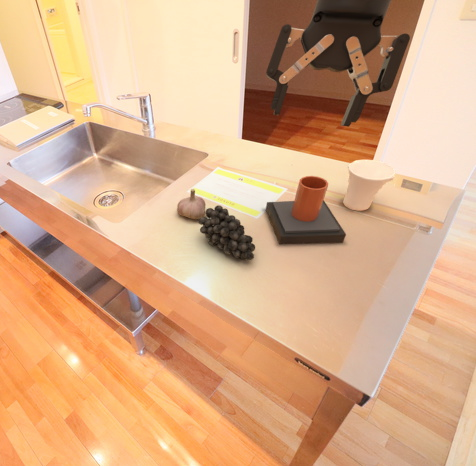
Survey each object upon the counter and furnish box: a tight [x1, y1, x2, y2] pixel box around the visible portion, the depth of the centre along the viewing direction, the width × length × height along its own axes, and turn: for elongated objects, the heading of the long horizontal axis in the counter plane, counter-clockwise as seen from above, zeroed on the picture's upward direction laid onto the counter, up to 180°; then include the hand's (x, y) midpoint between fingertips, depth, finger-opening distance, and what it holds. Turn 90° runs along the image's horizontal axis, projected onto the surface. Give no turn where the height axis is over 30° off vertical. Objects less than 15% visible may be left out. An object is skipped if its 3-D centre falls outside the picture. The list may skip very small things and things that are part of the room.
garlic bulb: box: [176, 188, 206, 220], centre depth 81 cm, size 8×7×8 cm
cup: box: [342, 159, 396, 212], centre depth 75 cm, size 9×9×10 cm
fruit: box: [197, 204, 256, 261], centre depth 70 cm, size 9×8×15 cm
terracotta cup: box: [291, 175, 329, 222], centre depth 70 cm, size 5×5×8 cm
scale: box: [265, 199, 347, 245], centre depth 74 cm, size 13×13×3 cm
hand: (309, 120), depth 43 cm, fingers open, 8 cm apart
